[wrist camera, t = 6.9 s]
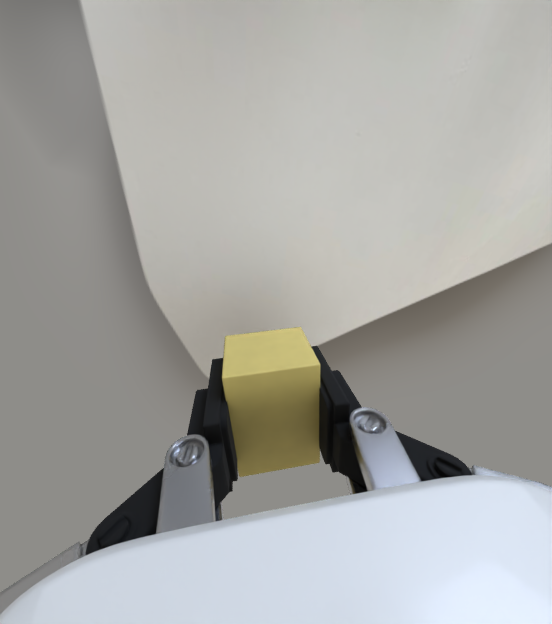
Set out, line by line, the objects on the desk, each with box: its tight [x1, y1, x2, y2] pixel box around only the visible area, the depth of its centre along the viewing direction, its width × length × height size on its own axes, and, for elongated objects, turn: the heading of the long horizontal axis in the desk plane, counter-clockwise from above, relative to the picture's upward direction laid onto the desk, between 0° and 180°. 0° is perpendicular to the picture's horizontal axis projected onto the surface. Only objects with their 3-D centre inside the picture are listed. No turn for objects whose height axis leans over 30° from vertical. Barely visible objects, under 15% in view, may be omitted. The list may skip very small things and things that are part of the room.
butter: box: [222, 327, 320, 477], centre depth 11 cm, size 5×3×3 cm
